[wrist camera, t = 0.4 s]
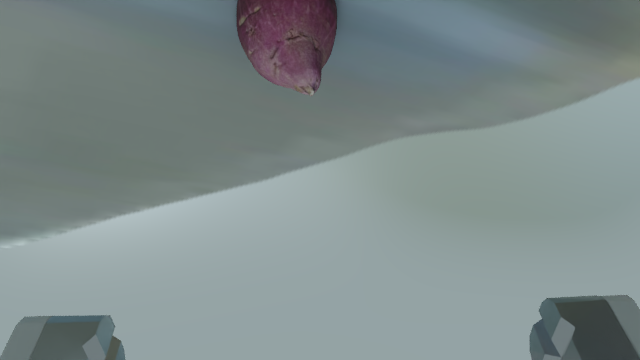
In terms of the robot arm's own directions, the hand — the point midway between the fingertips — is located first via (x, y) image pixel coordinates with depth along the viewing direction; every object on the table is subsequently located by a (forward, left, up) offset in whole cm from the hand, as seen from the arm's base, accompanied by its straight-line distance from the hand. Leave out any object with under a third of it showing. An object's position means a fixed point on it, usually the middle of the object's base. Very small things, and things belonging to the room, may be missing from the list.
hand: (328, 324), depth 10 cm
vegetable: (+12, -2, -47) cm, 48 cm away
